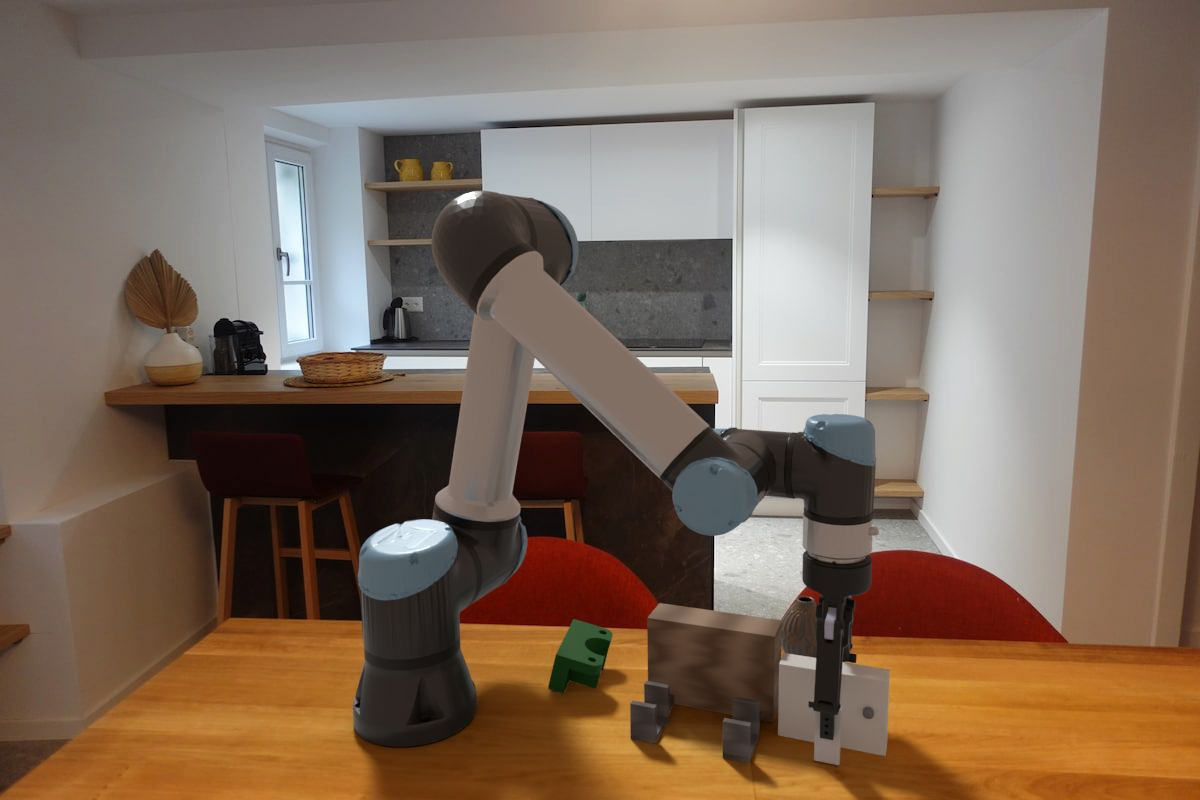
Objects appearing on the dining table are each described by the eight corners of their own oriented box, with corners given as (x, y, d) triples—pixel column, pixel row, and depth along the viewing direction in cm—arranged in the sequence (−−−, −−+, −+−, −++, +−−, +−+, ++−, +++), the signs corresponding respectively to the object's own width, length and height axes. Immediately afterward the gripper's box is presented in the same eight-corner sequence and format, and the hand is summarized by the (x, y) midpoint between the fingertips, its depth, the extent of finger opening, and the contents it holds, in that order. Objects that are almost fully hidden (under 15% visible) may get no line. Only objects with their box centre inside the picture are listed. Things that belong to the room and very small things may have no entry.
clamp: (587, 722, 107) (596, 679, 102) (544, 708, 108) (551, 665, 103) (609, 652, 117) (618, 609, 112) (569, 640, 118) (577, 597, 113)
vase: (770, 651, 117) (771, 593, 116) (812, 644, 119) (813, 587, 118) (795, 672, 110) (796, 611, 109) (839, 665, 112) (841, 604, 111)
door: (777, 738, 95) (778, 665, 94) (782, 722, 98) (783, 652, 97) (885, 759, 90) (888, 683, 89) (887, 742, 94) (889, 669, 92)
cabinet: (622, 736, 96) (621, 648, 94) (660, 681, 109) (659, 603, 107) (758, 765, 90) (759, 671, 88) (780, 702, 103) (781, 620, 101)
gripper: (864, 592, 80) (857, 800, 83) (878, 527, 100) (872, 696, 103) (787, 582, 82) (783, 784, 86) (816, 521, 103) (812, 686, 106)
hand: (832, 736), depth 94 cm, fingers open, 10 cm apart
